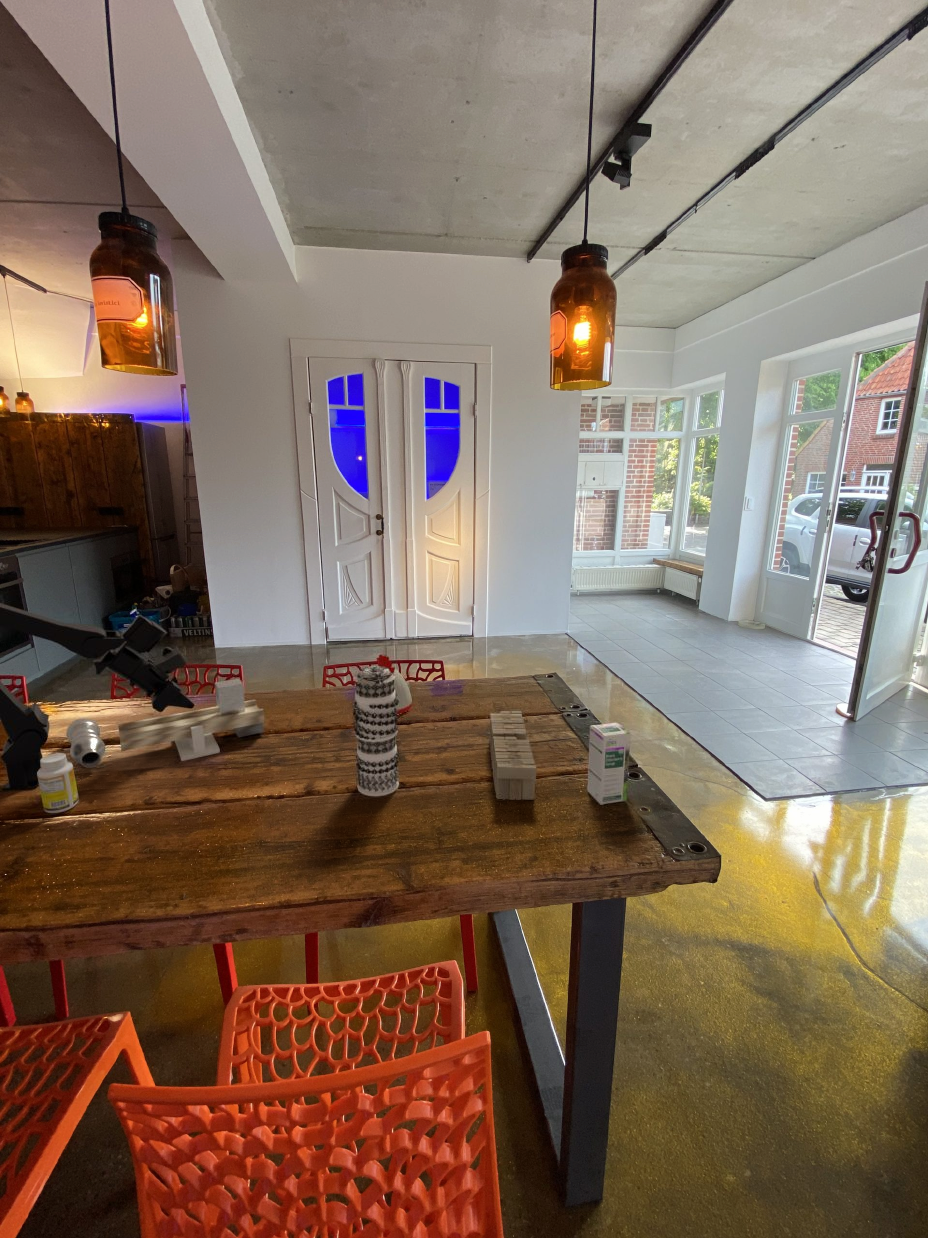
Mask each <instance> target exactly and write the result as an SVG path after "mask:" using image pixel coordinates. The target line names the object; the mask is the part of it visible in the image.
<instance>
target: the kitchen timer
mask: <svg viewBox="0 0 928 1238" xmlns="http://www.w3.org/2000/svg"><path fill="white" fill-rule="evenodd" d="M375 659H376V663H377V666H381V667H385V668H388V669H389V671H390V672H391V673H393V674H394V675H395V676H396V677H395V679H394V689H395V693H397V694H398V696H397V698H396V697H395V698H396V699H397V700H398V701H399V703H398V705H397V706H395V708H396V709H398V714H400V713H404V712H406V711H408V710H409V709H410V708H411V707H412V708H413V701H412V700H413V699H412V695H411V694H412V693H411V692H410V687H411V686H410V682H409V681H408V682H406V679H405V678H404V677H403V676H402V674H401V673H400V671H398V670H397V669H396V667H395V666H394V667H392V666H393V662H392V661H390V657H389V656H387V655H386V654H385V655H383V654H379V655H378V657H376V658H375ZM412 708H411V709H412ZM408 712H409V711H408ZM406 713H407V712H406ZM404 714H405V713H404Z"/></svg>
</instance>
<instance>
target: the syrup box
mask: <svg viewBox="0 0 928 1238" xmlns="http://www.w3.org/2000/svg"><path fill="white" fill-rule="evenodd" d="M588 743H589V747H588V749H589V750H588V768H587V769H588V770H587V788H586V789H587V792H588V793H589V794H590V796H591V797H593V798H594V799H595V800H596V802H597V803H598V804H599V805H601V806H602V805H606V804H607V805H608V804H613V803H619V802H626V801H627V796H628V783H629V781H628V780H629V762H630V747H631V732H630V731H629V730H628V729H626V728H625V727H624V726H623V725H621V724H619V723H618V722H617V721H616V722H612V723H603V724H596V725H594V724H593V725H592V724H591V725H590V726H589V741H588Z"/></svg>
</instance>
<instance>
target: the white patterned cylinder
mask: <svg viewBox="0 0 928 1238" xmlns="http://www.w3.org/2000/svg"><path fill="white" fill-rule="evenodd" d="M395 677H396V676H395V675H394V674H393V673H391V672H390V671H389V669H388V668H385V667H381V666H378V665H372V666H370V665H369V666H365V667H364V668H362V669H360V671H359V672H358V673H357V674H355V676H353V680H354V681H355V691H354V699H355V700H354V701H352V705H351V707H352V709H353V710H352V715H353V718H354V721H353V725H354V729H353V730H354V735H355V737H356V738H357V747H356V749H357V750H356V751H357V754H356V756H355V759H356V763H355V765H356V772H355V774H356V782H357V783H356V784H357V790H358V792H359V793H361V794H362V795H364V796H368V797H382V796H387V795H390V794H392V793H394V792H395V791H396V790H398V788H399V786H400V783H399V777H400V775H399V771H400V769H399V768H398V765H399V762H400V761H399V759H398V758H399V753H398V749H397V748H398V747H397V743H396V736H397V735H398V733H399V732H398V729H399V727H398V725H397V724H396V723H397V722H398V721H399V716H396V715H397V714H398V709H396V708H395V706H397V705H398V703H399V701H398V700H397V699H396V698H397V696H398V694H397V693H395V689H394V679H395ZM395 697H396V698H395Z"/></svg>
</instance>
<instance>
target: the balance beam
mask: <svg viewBox="0 0 928 1238" xmlns="http://www.w3.org/2000/svg"><path fill="white" fill-rule="evenodd" d="M264 723H265V712H264V708H259V706H258V705H257V699H255V698H254V699H251V700H249V699H248V700H246V701H245V712H242V713H237V714H232V715H227V716H221V717H219V715H218V712H217V705H215V706H211V707H206V708H201V709H195V710H190V711H188V710H187V711H184V712H179V713H173V714H166V715H162V716H156V717H151V718H144V719H140V720H135V721H129V722H124V723H123V722H122V723H118V724H117V726H118V728H117V729H118V733H119V737H118V738H119V743H120V749H121V750H120V751H121V752H125V751H130V750H135V749H141V748H144V747H145V748H146V747H150V746H151V747H152V746H155V745H160V744H164V743H168V742H175V740H180V739H185V738H190V737H192V734H191V727H194V726H199V725H202V726H203V732H204V735H205V734H210V733H212V734H214V733H218V732H223V731H229V730H233V731H234V733H235V734H236V736H237V738H241V737H247V736H251V735H256V734H262V733H264V732H265V727H264Z"/></svg>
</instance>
